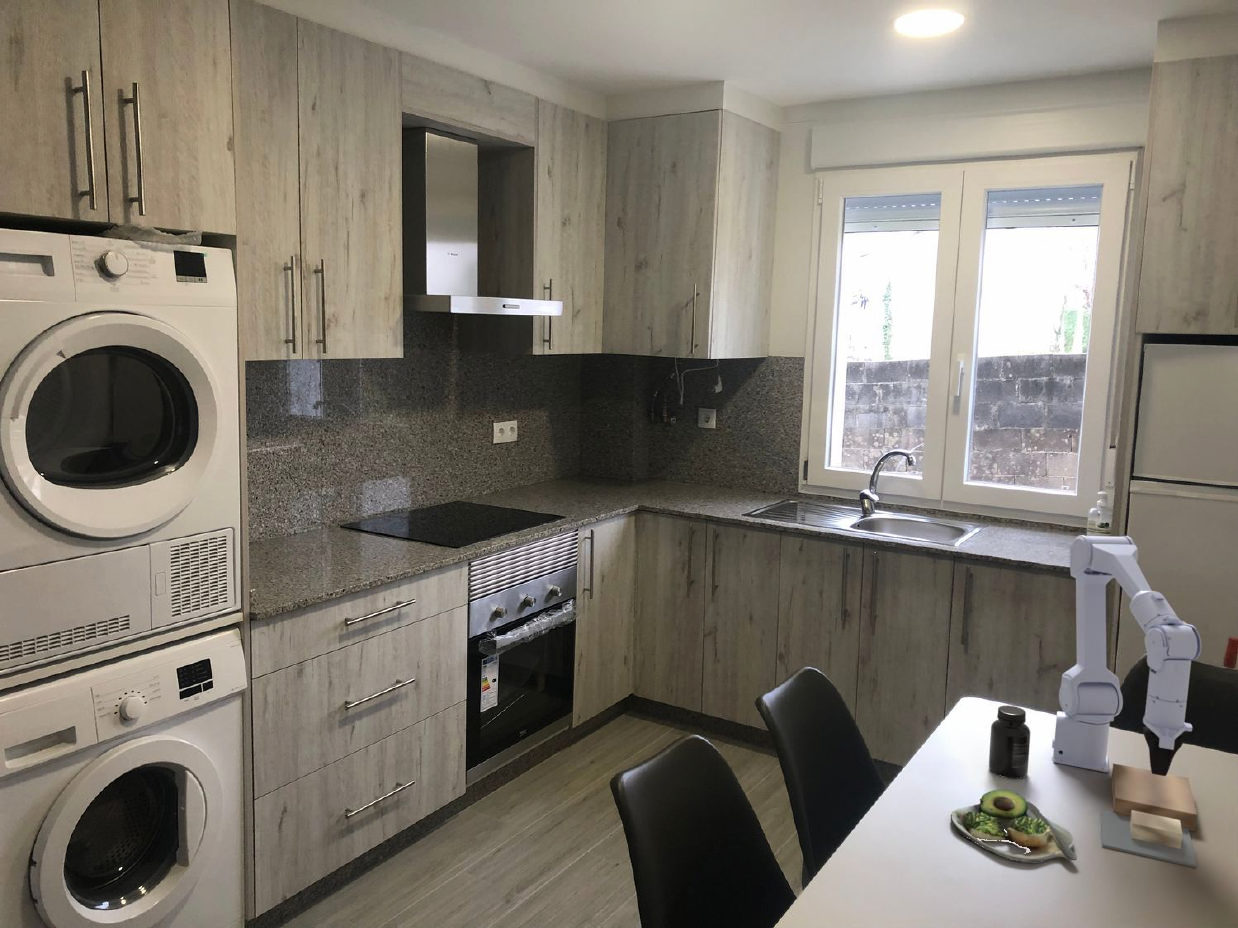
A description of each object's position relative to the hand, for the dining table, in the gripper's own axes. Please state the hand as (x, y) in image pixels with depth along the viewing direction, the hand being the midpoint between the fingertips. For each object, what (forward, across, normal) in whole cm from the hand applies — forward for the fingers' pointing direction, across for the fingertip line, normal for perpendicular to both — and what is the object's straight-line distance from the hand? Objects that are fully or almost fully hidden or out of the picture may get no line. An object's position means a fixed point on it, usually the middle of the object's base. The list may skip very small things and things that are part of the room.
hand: (1158, 773), depth 160 cm
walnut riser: (+9, +7, 0) cm, 11 cm away
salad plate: (+9, -16, +21) cm, 28 cm away
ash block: (+6, -6, 0) cm, 8 cm away
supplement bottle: (+9, +8, +24) cm, 26 cm away
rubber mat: (+8, -7, +2) cm, 11 cm away
